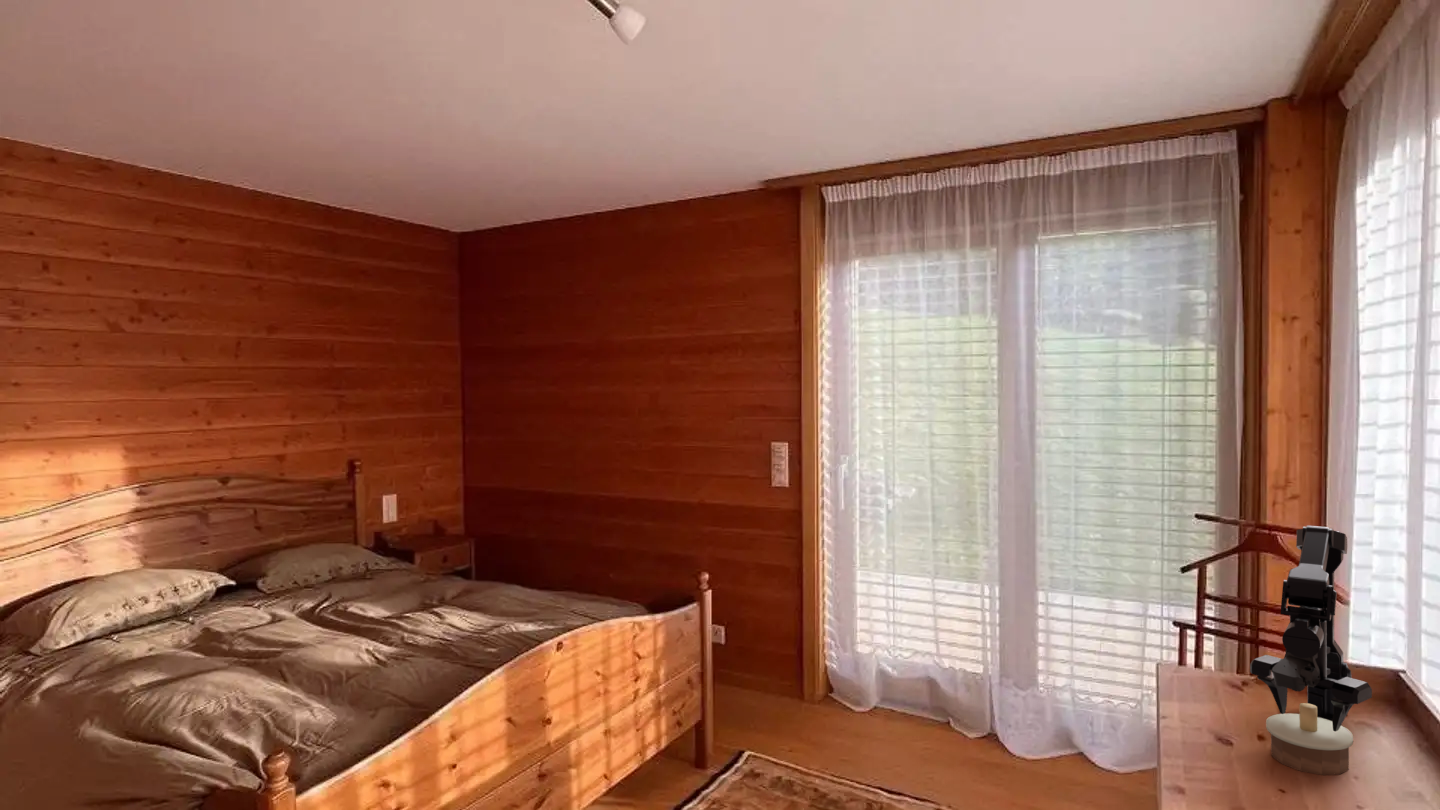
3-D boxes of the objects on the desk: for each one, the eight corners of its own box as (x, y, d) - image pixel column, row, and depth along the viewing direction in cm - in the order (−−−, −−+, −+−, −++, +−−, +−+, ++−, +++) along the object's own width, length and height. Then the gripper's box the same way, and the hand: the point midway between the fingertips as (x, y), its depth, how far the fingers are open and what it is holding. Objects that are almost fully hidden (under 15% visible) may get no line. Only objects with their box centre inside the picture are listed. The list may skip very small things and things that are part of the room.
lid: (1289, 719, 170) (1289, 686, 170) (1367, 745, 158) (1367, 709, 158) (1251, 737, 164) (1251, 702, 163) (1329, 765, 152) (1329, 728, 151)
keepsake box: (1292, 739, 169) (1292, 715, 169) (1360, 763, 159) (1360, 737, 158) (1258, 755, 164) (1258, 730, 163) (1327, 781, 153) (1326, 754, 153)
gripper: (1233, 637, 164) (1234, 715, 165) (1341, 665, 148) (1341, 752, 149) (1265, 626, 170) (1266, 701, 170) (1373, 652, 153) (1373, 736, 154)
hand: (1308, 721), depth 161 cm, fingers open, 9 cm apart
